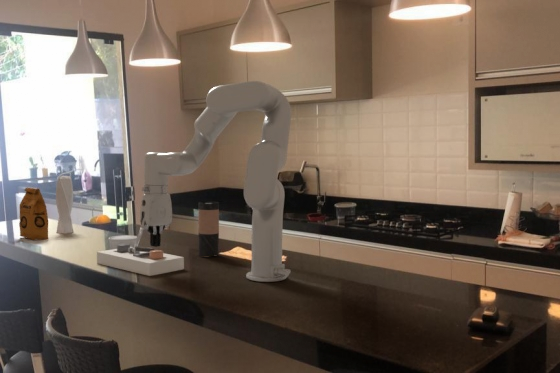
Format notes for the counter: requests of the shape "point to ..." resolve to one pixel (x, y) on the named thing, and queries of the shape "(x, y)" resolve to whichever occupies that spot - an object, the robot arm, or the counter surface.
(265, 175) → the robot arm
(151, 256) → the terracotta button
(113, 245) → the ramekin
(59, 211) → the skyscraper
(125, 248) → the charcoal button
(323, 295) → the counter surface
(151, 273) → the control panel
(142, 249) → the black rocker
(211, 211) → the travel mug
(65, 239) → the counter surface
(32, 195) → the coffee package
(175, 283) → the counter surface
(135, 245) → the toggle lever
